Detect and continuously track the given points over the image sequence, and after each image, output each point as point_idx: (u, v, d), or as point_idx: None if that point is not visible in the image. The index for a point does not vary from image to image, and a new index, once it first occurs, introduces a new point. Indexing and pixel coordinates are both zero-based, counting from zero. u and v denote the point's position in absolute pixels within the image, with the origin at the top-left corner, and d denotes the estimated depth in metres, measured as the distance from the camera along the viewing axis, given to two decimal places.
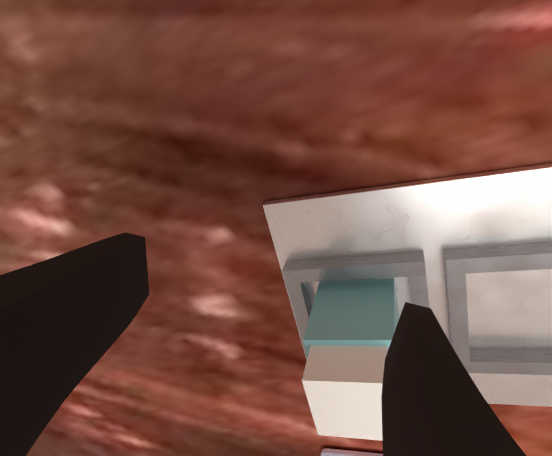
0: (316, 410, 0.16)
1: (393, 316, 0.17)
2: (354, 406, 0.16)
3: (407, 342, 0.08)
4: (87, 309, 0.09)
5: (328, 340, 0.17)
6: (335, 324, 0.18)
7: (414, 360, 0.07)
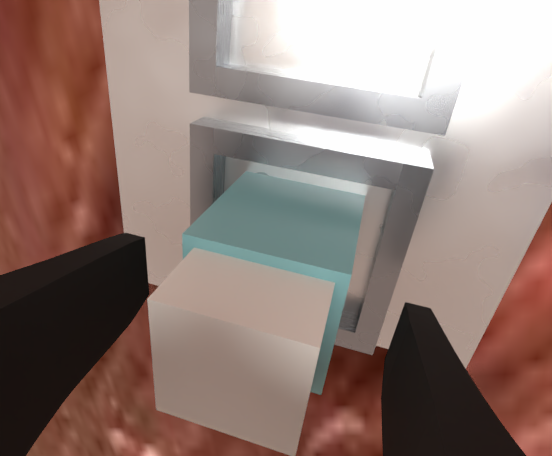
0: (226, 426, 0.09)
1: (210, 208, 0.10)
2: (213, 371, 0.08)
3: (407, 342, 0.08)
4: (87, 309, 0.09)
5: None
6: None
7: (414, 360, 0.07)
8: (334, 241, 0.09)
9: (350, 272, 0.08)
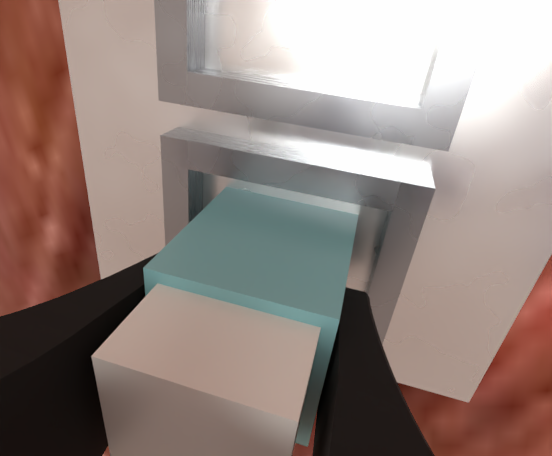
0: None
1: (180, 233, 0.09)
2: (174, 438, 0.07)
3: None
4: None
5: None
6: None
7: (336, 339, 0.08)
8: (321, 274, 0.08)
9: (338, 316, 0.07)
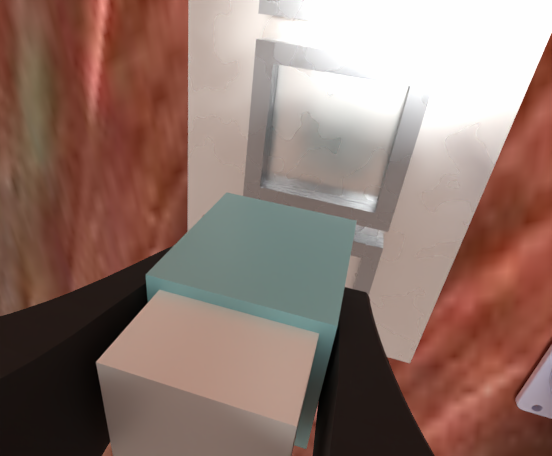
0: None
1: (182, 240, 0.09)
2: (176, 442, 0.07)
3: None
4: None
5: None
6: None
7: (337, 339, 0.08)
8: (319, 281, 0.08)
9: (336, 322, 0.07)
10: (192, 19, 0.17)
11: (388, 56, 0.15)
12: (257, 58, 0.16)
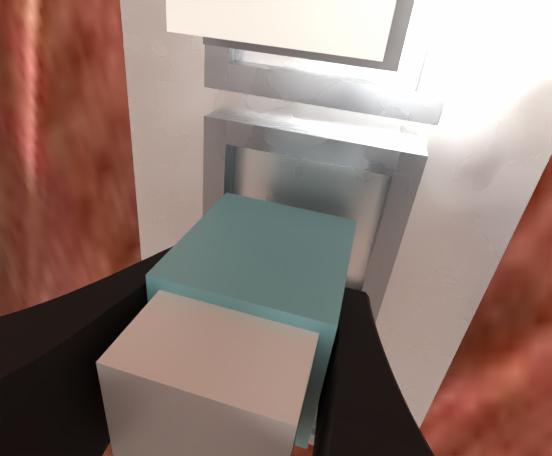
0: None
1: (182, 240, 0.09)
2: (176, 442, 0.07)
3: None
4: None
5: None
6: None
7: (336, 339, 0.08)
8: (320, 280, 0.08)
9: (336, 322, 0.07)
10: (131, 86, 0.14)
11: (366, 135, 0.12)
12: (207, 137, 0.13)
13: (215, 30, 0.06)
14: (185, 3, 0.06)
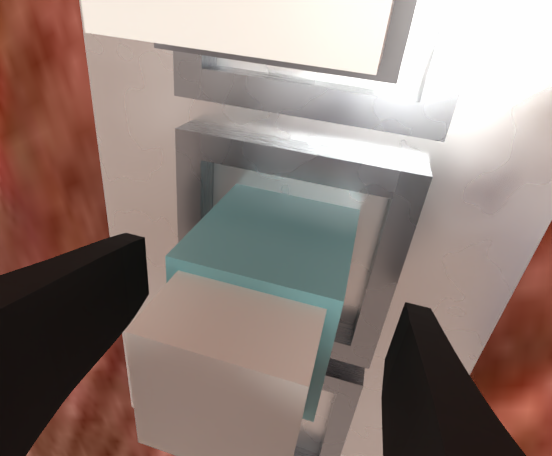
0: None
1: (196, 226, 0.10)
2: (196, 406, 0.07)
3: (407, 342, 0.08)
4: (87, 309, 0.09)
5: None
6: None
7: (414, 360, 0.07)
8: (326, 263, 0.09)
9: (342, 298, 0.08)
10: (96, 93, 0.12)
11: (361, 150, 0.11)
12: (179, 152, 0.11)
13: (148, 31, 0.04)
14: None
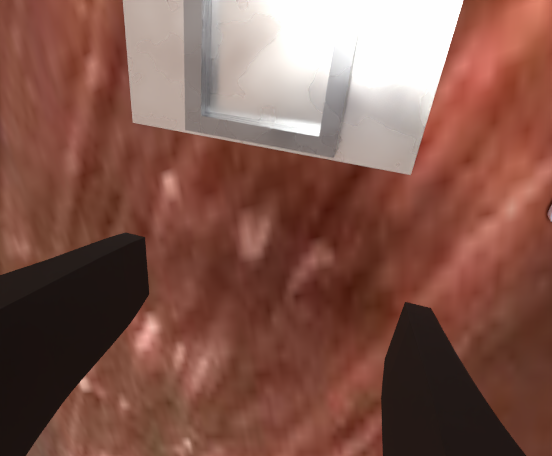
0: None
1: None
2: None
3: (407, 342, 0.08)
4: (87, 310, 0.09)
5: None
6: None
7: (414, 360, 0.07)
8: None
9: None
10: None
11: None
12: None
13: None
14: None
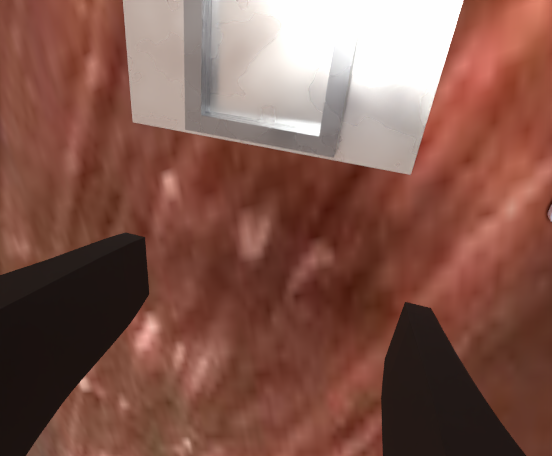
0: None
1: None
2: None
3: (407, 342, 0.08)
4: (87, 309, 0.09)
5: None
6: None
7: (414, 360, 0.07)
8: None
9: None
10: None
11: None
12: None
13: None
14: None
